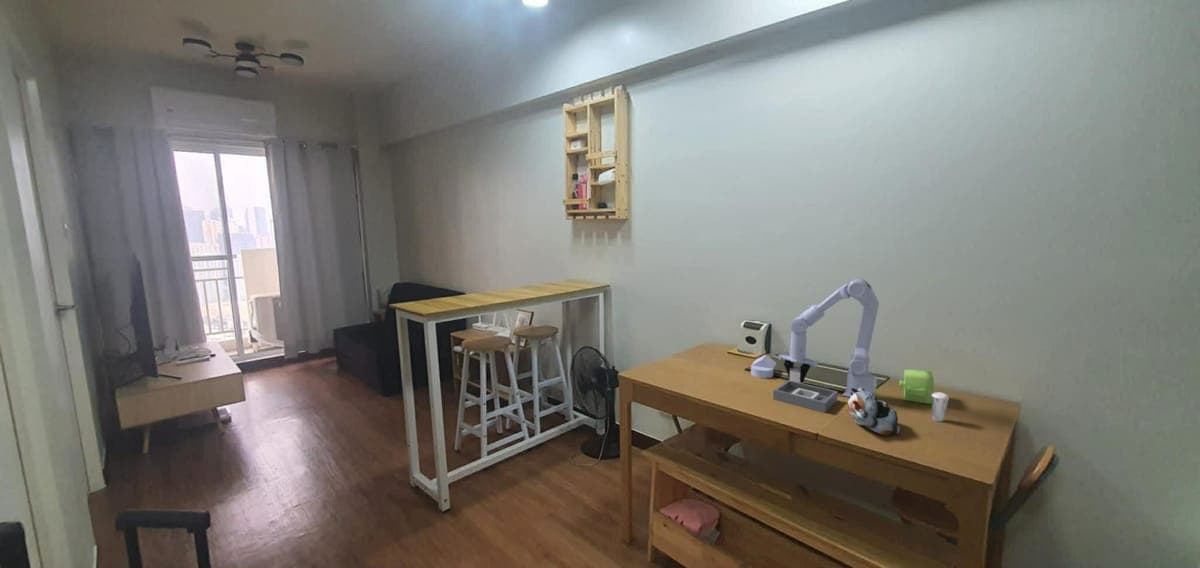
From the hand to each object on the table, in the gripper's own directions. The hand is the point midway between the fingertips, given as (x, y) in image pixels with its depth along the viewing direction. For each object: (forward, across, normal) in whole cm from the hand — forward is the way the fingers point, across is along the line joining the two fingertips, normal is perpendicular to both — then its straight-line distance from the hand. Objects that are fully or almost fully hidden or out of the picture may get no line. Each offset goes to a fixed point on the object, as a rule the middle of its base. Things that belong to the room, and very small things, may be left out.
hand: (796, 380), depth 183 cm
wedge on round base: (+2, -16, +5) cm, 17 cm away
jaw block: (+2, 0, 0) cm, 2 cm away
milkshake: (+2, +46, -1) cm, 46 cm away
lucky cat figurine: (+2, +32, -22) cm, 39 cm away
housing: (+2, +8, -13) cm, 15 cm away
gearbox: (+2, +37, +17) cm, 41 cm away
